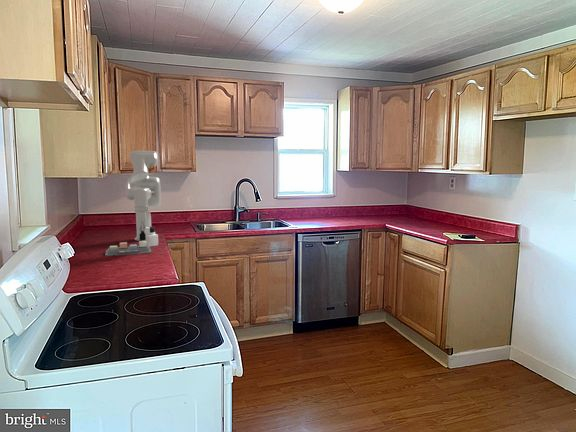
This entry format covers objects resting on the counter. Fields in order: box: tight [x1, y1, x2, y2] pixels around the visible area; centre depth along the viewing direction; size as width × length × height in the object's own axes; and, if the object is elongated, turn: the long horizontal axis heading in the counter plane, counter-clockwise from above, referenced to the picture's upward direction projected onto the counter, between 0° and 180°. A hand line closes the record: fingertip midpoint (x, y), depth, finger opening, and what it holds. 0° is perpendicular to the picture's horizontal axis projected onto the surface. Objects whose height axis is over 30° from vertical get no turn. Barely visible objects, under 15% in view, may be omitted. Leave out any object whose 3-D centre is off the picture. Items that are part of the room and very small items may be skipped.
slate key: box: [129, 244, 138, 249], centre depth 247 cm, size 4×4×2 cm
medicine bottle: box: [142, 226, 159, 248], centre depth 264 cm, size 7×7×12 cm
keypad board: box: [104, 245, 153, 257], centre depth 246 cm, size 14×25×2 cm, turn 111°
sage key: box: [109, 245, 118, 250], centre depth 243 cm, size 4×4×2 cm
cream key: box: [138, 241, 147, 247], centre depth 249 cm, size 4×4×2 cm
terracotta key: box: [119, 241, 128, 248], centre depth 245 cm, size 4×4×2 cm
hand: (142, 240), depth 248 cm, fingers closed
